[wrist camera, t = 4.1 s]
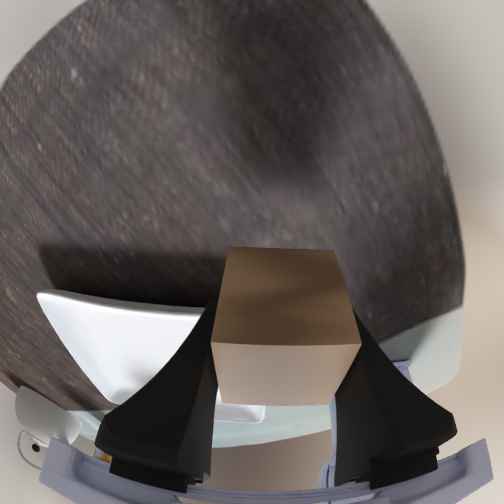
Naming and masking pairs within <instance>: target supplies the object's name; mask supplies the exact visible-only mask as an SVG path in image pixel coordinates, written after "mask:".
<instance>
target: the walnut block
mask: <svg viewBox="0 0 504 504" xmlns="http://www.w3.org/2000/svg"><path fill="white" fill-rule="evenodd" d="M361 345H362V342H361V338H360V335H359V331H358V327H357V324H356V320H355V317H354V313H353V310H352V307H351V303H350V300H349V297H348V293H347V290H346V287H345V284H344V281H343V278H342V274H341V271H340V268H339V265H338V262H337V259H336V256H335V253H334V251H333V250H310V249H282V248H254V247H229V250H228V255H227V260H226V265H225V270H224V275H223V280H222V285H221V290H220V295H219V300H218V305H217V310H216V316H215V321H214V326H213V332H212V337H211V347H212V353H213V359H214V364H215V370H216V375H217V380H218V385H219V390H220V395H221V400H222V403H225V404H239V405H262V406H300V405H323V404H329V402H330V401H331V399H332V397H333V396H334V394H335V392H336V391H337V389H338V387H339V386H340V384H341V382H342V380H343V379H344V377H345V375H346V373H347V371H348V370H349V368H350V366H351V364H352V362H353V360H354V358H355V356H356V354H357V352H358V351H359V349H360V347H361Z"/></svg>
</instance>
